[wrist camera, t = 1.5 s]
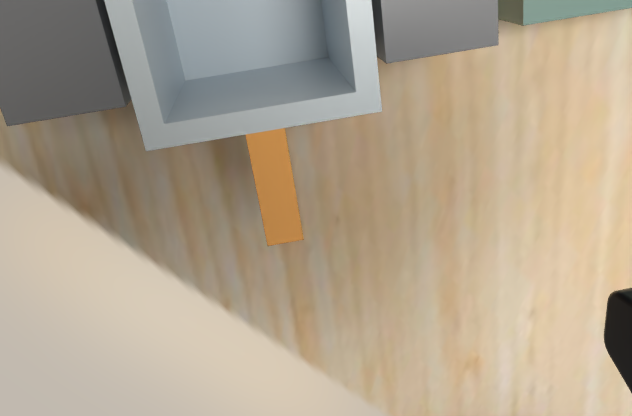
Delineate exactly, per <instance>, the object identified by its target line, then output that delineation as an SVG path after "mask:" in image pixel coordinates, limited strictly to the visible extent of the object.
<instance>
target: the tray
mask: <svg viewBox="0 0 632 416" xmlns="http://www.w3.org/2000/svg"><path fill="white" fill-rule="evenodd" d="M627 8H632V0H498V19H500V20H504V21H508V22H512V23H515V24H519V25H529V24H535V23H542V22H548V21H554V20H560V19H566V18H572V17H578V16H584V15H590V14H596V13H603V12H609V11H615V10H621V9H627Z"/></svg>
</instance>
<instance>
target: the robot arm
mask: <svg viewBox="0 0 632 416" xmlns="http://www.w3.org/2000/svg"><path fill="white" fill-rule="evenodd" d="M604 342H605V346H606V349H607V351H608V353H609V355H610V357H611V359H612V360H613V362H614V364H615V365H616V367H617V369H618V371H619V372H620V374H621V376H622V377H623V379H624V381H625V382H626V384H627V386H628V388H629V389H630V391H631V393H632V288H628V289H623V290H618V291H614V292H613V293H611V294H610V296H609V298H608V302H607V311H606V320H605V329H604Z"/></svg>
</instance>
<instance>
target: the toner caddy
mask: <svg viewBox="0 0 632 416" xmlns="http://www.w3.org/2000/svg"><path fill="white" fill-rule="evenodd" d="M104 2H105V5H106V9H107V12H108V16H109V20H110V23H111V27H112V30H113V34H114V38H115V41H116V45H117V48H118V52H119V56H120V59H121V63H122V66H123V70H124V74H125V77H126V81H127V85H128V88H129V92H130V95H131V99H132V103H133V106H134V110H135V113H136V117H137V121H138V124H139V128H140V131H141V135H142V139H143V142H144V146H145V149H146V151H151V150H157V149H163V148H169V147H175V146H181V145H187V144H193V143H198V142H204V141H210V140H216V139H222V138H228V137H234V136H240V135H246V140H247V145H248V150H249V155H250V160H251V165H252V170H253V175H254V180H255V185H256V190H257V195H258V200H259V205H260V210H261V215H262V220H263V225H264V230H265V235H266V240H267V245H268V246H271V245H276V244H282V243H288V242H293V241H299V240H304V239H303V233H302V227H301V221H300V215H299V209H298V203H297V197H296V191H295V185H294V180H293V174H292V168H291V162H290V156H289V150H288V144H287V138H286V132H285V128H287V127H293V126H299V125H305V124H311V123H317V122H323V121H329V120H335V119H341V118H347V117H353V116H358V115H364V114H370V113H376V112H382V105H381V95H380V84H379V74H378V63H377V53H376V43H375V32H374V22H373V11H372V1H371V0H104Z"/></svg>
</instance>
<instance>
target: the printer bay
mask: <svg viewBox="0 0 632 416" xmlns="http://www.w3.org/2000/svg"><path fill="white" fill-rule="evenodd" d="M371 1H372V11H373V22H374V32H375V43H376V53H377V57H379V58H380V59H381V60H383V61H384V62H385V63H386V64H387V63H393V62H399V61H405V60H411V59H417V58H423V57H429V56H435V55H441V54H447V53H453V52H459V51H465V50H471V49H478V48H484V47H490V46H496V45H498V0H371ZM130 101H131V95H130V92H129V88H128V85H127V81H126V77H125V74H124V70H123V66H122V63H121V59H120V56H119V52H118V48H117V45H116V41H115V38H114V34H113V30H112V27H111V23H110V20H109V16H108V12H107V9H106V5H105V2H104V0H0V108H1V111H2V114H3V116H4V119H5V122H6V124H7V126H12V125H18V124H24V123H30V122H36V121H42V120H48V119H54V118H60V117H66V116H72V115H78V114H84V113H90V112H96V111H102V110H108V109H114V108H121V107H126V106H127V104H128V103H129V102H130Z"/></svg>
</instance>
